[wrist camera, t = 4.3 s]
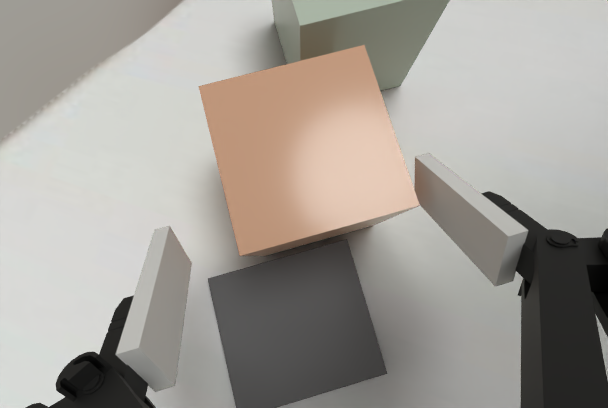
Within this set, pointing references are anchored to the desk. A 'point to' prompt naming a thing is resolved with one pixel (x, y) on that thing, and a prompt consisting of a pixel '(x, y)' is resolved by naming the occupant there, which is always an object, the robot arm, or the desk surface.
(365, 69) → the peach salmon cube
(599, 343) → the robot arm
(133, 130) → the desk surface
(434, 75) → the desk surface
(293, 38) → the sage green cube
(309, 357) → the coaster
